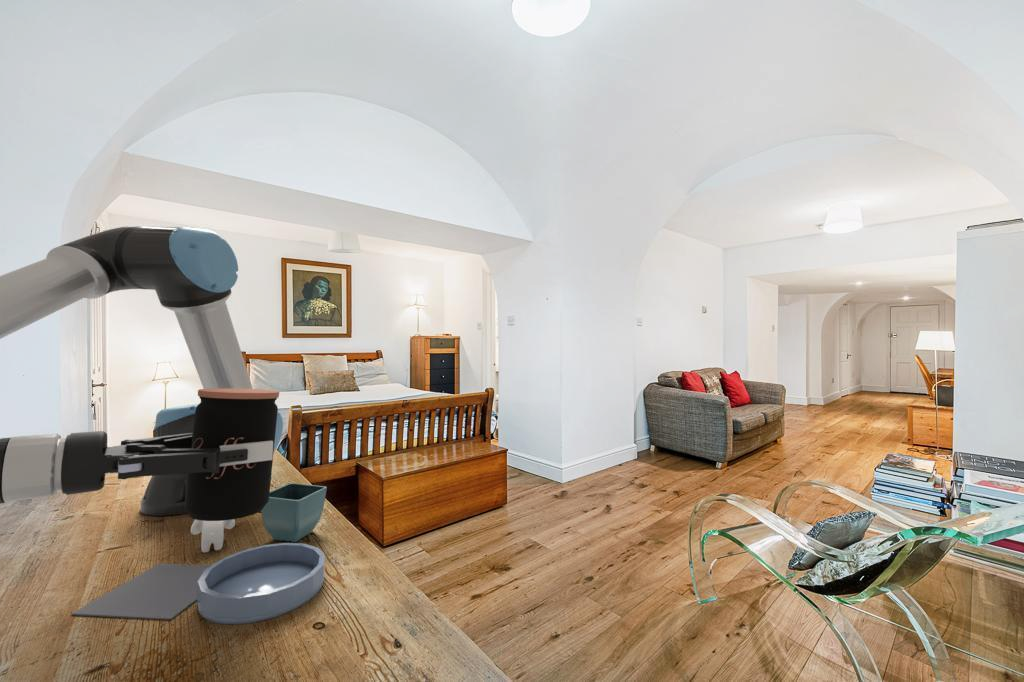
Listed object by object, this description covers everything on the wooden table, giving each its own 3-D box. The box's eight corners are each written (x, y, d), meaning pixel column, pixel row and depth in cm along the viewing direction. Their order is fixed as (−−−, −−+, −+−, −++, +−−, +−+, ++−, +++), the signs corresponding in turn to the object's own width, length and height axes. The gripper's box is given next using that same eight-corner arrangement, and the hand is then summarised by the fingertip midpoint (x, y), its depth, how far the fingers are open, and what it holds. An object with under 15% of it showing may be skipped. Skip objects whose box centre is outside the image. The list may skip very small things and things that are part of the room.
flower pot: (296, 549, 79) (298, 500, 80) (256, 543, 81) (258, 495, 81) (326, 530, 88) (328, 486, 88) (289, 525, 90) (290, 482, 90)
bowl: (247, 561, 74) (247, 541, 74) (341, 565, 74) (342, 545, 74) (166, 621, 58) (168, 594, 58) (287, 627, 57) (288, 600, 57)
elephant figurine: (234, 535, 84) (235, 504, 85) (233, 551, 78) (235, 518, 78) (191, 542, 81) (193, 510, 81) (187, 560, 74) (189, 525, 74)
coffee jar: (164, 521, 59) (179, 389, 60) (214, 498, 69) (226, 387, 71) (243, 524, 59) (257, 393, 61) (281, 501, 70) (292, 391, 71)
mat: (159, 564, 72) (159, 563, 72) (239, 568, 72) (239, 567, 72) (71, 615, 58) (71, 613, 58) (170, 620, 58) (171, 618, 58)
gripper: (70, 473, 62) (247, 453, 76) (46, 524, 44) (281, 485, 59) (73, 421, 62) (249, 411, 76) (50, 451, 45) (283, 430, 59)
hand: (263, 443), depth 68 cm, fingers closed on coffee jar, 11 cm apart
